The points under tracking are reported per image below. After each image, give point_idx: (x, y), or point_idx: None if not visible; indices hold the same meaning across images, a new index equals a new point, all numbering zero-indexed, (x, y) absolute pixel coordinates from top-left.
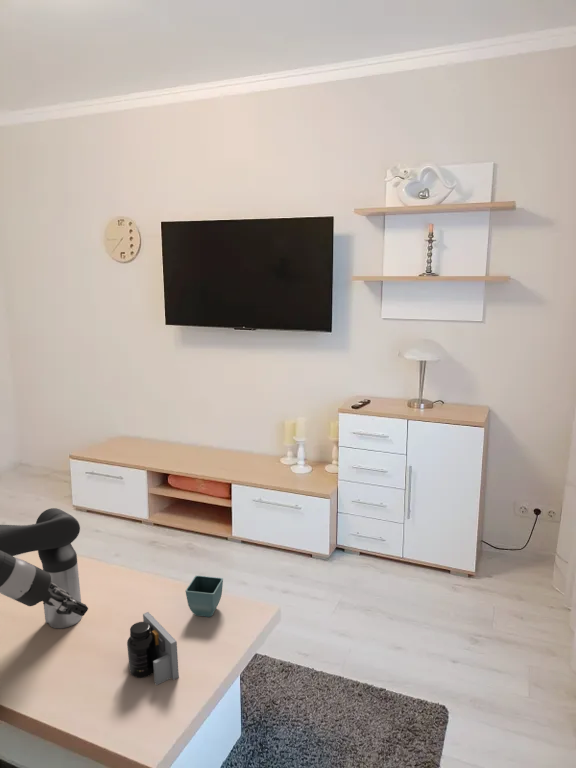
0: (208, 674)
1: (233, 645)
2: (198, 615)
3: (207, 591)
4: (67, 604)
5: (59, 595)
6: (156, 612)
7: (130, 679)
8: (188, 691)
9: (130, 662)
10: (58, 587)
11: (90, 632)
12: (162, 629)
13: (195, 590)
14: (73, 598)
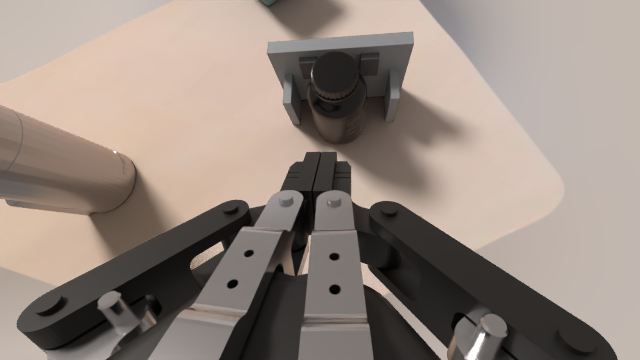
0: (423, 47)
1: None
2: (274, 1)
3: None
4: (590, 328)
5: (373, 340)
6: (213, 51)
7: (348, 150)
8: (441, 87)
9: (342, 134)
10: (214, 289)
11: (178, 159)
12: (351, 40)
13: None
14: (294, 194)
